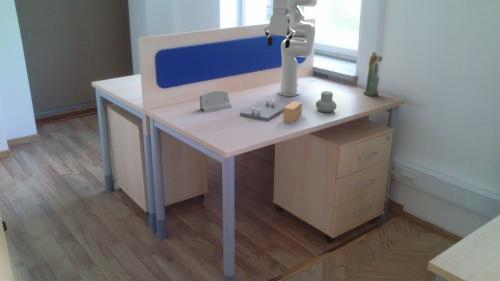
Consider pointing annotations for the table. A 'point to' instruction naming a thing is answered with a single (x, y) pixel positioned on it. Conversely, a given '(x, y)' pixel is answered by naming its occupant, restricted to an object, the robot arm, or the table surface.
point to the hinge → (214, 101)
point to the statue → (372, 75)
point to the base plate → (263, 110)
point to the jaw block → (292, 111)
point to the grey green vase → (326, 102)
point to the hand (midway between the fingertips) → (278, 46)
